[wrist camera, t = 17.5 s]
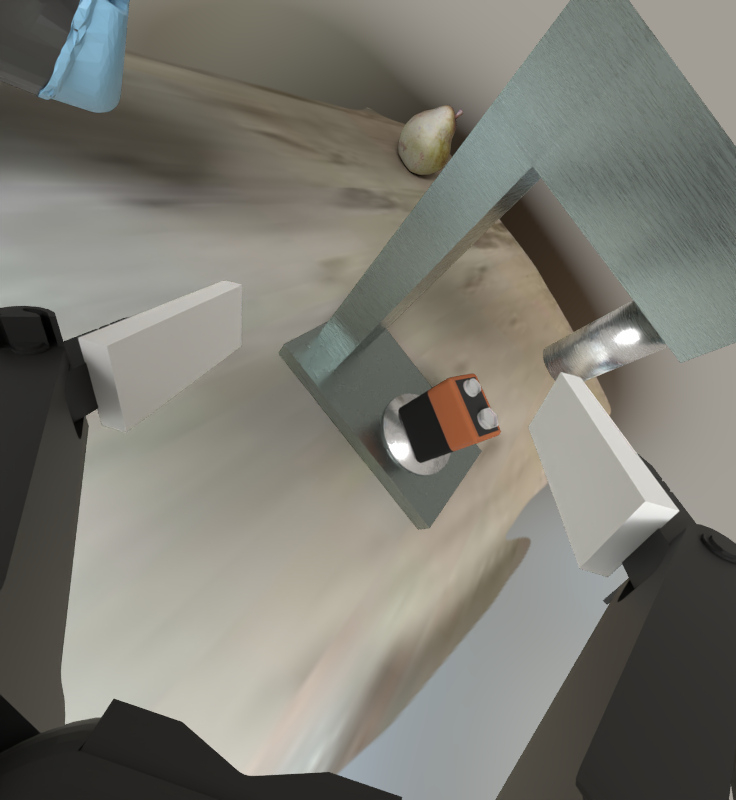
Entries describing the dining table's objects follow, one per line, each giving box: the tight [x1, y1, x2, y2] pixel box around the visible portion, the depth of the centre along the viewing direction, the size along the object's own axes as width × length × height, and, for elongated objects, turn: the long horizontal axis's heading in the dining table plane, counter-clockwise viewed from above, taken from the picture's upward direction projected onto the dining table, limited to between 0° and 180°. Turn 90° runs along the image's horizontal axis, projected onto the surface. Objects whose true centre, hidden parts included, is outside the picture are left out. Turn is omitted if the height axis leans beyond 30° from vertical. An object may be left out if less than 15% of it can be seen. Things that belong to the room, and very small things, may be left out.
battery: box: [398, 374, 501, 463], centre depth 37 cm, size 4×7×10 cm, turn 20°
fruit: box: [398, 105, 463, 175], centre depth 65 cm, size 10×9×12 cm
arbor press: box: [279, 0, 736, 529], centre depth 27 cm, size 32×14×40 cm, turn 43°
